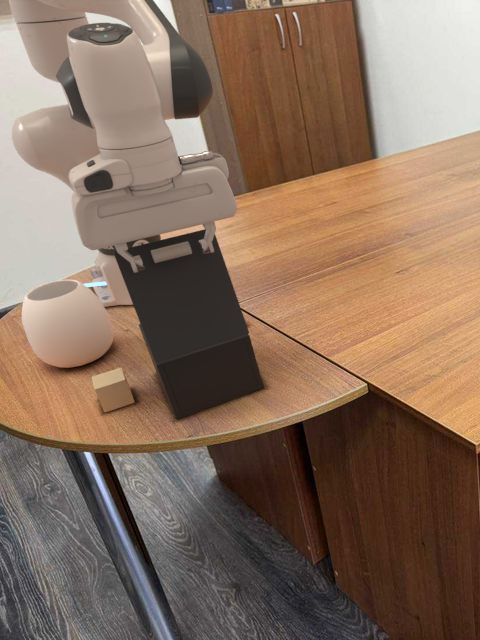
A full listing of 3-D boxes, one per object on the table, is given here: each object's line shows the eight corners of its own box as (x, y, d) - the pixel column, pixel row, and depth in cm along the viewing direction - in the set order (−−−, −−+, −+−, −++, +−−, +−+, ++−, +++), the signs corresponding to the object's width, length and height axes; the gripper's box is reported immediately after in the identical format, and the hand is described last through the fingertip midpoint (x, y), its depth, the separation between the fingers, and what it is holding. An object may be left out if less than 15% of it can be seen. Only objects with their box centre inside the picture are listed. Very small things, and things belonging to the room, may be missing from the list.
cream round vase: (30, 360, 118) (-3, 294, 111) (103, 331, 126) (77, 267, 120) (57, 385, 111) (24, 315, 104) (133, 351, 119) (107, 285, 112)
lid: (112, 251, 91) (112, 249, 87) (212, 227, 97) (216, 224, 93) (155, 362, 95) (157, 365, 90) (248, 333, 101) (254, 334, 96)
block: (101, 399, 106) (91, 376, 104) (130, 389, 108) (121, 367, 106) (104, 412, 103) (94, 389, 100) (135, 402, 105) (125, 379, 102)
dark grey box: (157, 374, 111) (138, 324, 106) (237, 348, 117) (222, 299, 112) (176, 419, 100) (156, 365, 95) (264, 388, 106) (249, 335, 101)
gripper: (217, 143, 91) (240, 236, 99) (55, 174, 83) (94, 273, 90) (229, 152, 87) (253, 248, 94) (59, 185, 78) (100, 289, 85)
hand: (174, 261), depth 92 cm, fingers open, 8 cm apart
